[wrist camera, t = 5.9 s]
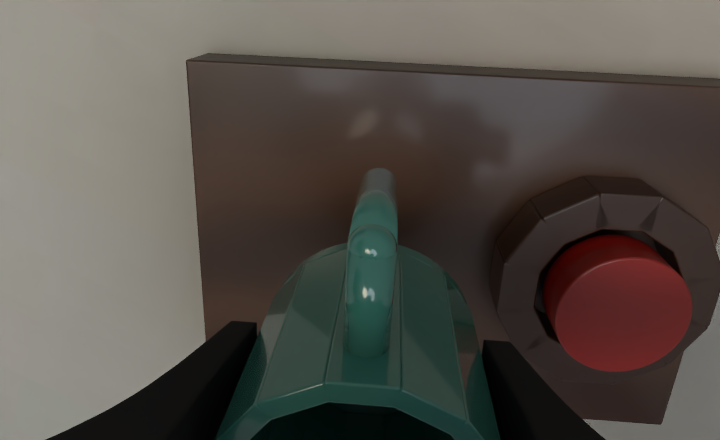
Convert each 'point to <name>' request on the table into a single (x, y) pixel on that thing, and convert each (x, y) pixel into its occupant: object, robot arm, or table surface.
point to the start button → (616, 303)
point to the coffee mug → (365, 345)
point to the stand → (460, 189)
